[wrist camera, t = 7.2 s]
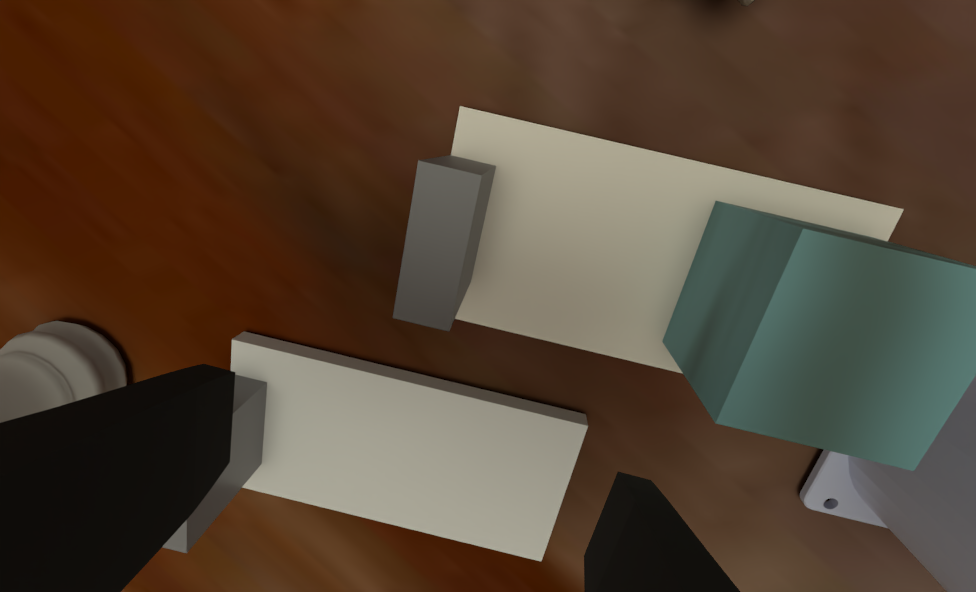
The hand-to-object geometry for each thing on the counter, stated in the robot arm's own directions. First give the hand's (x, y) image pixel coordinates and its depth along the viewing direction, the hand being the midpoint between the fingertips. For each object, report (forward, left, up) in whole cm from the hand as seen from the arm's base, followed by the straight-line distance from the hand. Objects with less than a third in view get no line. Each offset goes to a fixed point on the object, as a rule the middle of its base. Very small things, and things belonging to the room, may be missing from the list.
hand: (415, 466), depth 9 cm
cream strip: (-5, -3, -9) cm, 11 cm away
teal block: (-9, -3, -8) cm, 13 cm away
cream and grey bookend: (+2, +7, -9) cm, 12 cm away
